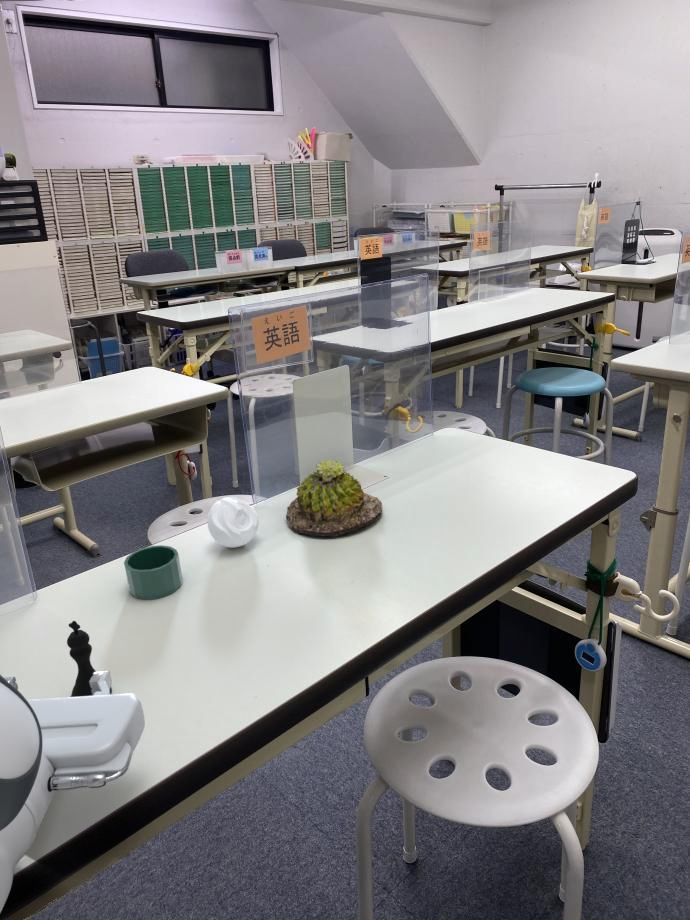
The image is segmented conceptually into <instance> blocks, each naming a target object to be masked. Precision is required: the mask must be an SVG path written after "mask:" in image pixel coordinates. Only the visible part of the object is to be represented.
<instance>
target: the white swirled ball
mask: <svg viewBox="0 0 690 920" xmlns="http://www.w3.org/2000/svg"><path fill="white" fill-rule="evenodd" d="M206 517H207V529H208V532H209V534H210V536H211V537H212V539H213V540H214V541H215V542H217V544H218V545H219V546H222V547H225V548H229V549H230V548H239V547H240V548H241V547H243V546H245V545H247V544H248V543H249V542H251V541H252V540H253V539H254V538H255V537H256V535H257V533H258V528H259V515H258V513H257V511H256V510H255V509H254V508H253V506H251V504H249V503H247V502H246V501H245V500H243V499H242V498H239V497H235V496H228V497H223V498H222V499H219V500H218V501H216V502H215V503H214V504H213V505H212V506H211V508H210V509H209V511H208V514H207V516H206Z"/></svg>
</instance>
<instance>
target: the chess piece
mask: <svg viewBox="0 0 690 920" xmlns="http://www.w3.org/2000/svg"><path fill="white" fill-rule="evenodd" d="M67 626H68V627H69V628H70V629H72V630H73V631H71V632H70V634H69V635H68V637H67V640H66V645H67V647H68V648H69V656H70V658H71V659H72V660H73V661H74V662H75V663H76V665H77V676H76V679H75V683H74V686H73V687H72V690H71V695H70V697H79V696H93V695H92V691H91V690H92V688H91V687H90V683H89V681H90V679H91V677H92V676H93V673H94V672H98V671H97V670H96V669H95V668H94V667H93V665H92V663H91V655H92V651H93V647H92V645H91V643H90V636H89V635H90V634H88V632H86V631H84V630H83V629H81V625H80V624H79V623H77V621H76V620H72V621H71V622H70V623H68V625H67ZM112 687H113V686H111V688H110V695H111V694H113V693H112V692H113V688H112Z"/></svg>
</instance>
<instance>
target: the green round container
mask: <svg viewBox="0 0 690 920" xmlns="http://www.w3.org/2000/svg"><path fill="white" fill-rule="evenodd" d="M123 565H124V570H125V575H126V579H127V580H126V581H127V585H128V586H127V587H128V590H129V593H130V596H132V597H134V598H136V599H139V600H146V601H148V600H151V601H152V600H159V599H161V598H164V597H167V596H170V595H172V594H174V593H175V592H176V591H178V590H179V589H180V588H181V586H182V585H183V574H182V567H181V561H180V555H179V552H178V550H177V549H176V548H174V547H172V546H170V545H162V544H159V545H151V546H146V547H142V548H139V549H137V550H135V551H133V552H132V553H130V554H129V555H127V556H126V558H125V560H124V562H123Z"/></svg>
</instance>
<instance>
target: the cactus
mask: <svg viewBox="0 0 690 920" xmlns="http://www.w3.org/2000/svg"><path fill="white" fill-rule="evenodd" d="M315 467H316V468H315V470H316V471H315V470H314V471H313V472H312V473H310V474H308V476H307V477H305V478H304V479H303V481H301V483H300V485H298V487H296V490H297V491H296V496H297V497H296V498H294V499H293V500H292V501H291V502H290V503H289V505H288V506H287V508H286V515H285V519H286V522H287V524H288V527H291V528H292V530H293V531H294V532H296V533H298V534H299V533H301V534H303V535H306V536H313V537H327V536H329V537H330V536H331V537H338V536H339V535H340V536H341V535H343V534H349V533H350V532H355V531H356V530H359V529H361V528H364V527H366V526H368V524H372V522H375V521H376V520H378V517H379V516H381V515H382V513H383V503H382V500H380V499H379V498H378V497H376V496H373V495H371V494H368V493H367V492H364V490H363V489H362V483H361V482H360V481H358V478H354V477H355V475H354V474H352V475H351V474H350V473H349V472H347V471H346V467H345V465H344V464H343V462H340V461H339V460H336V461H334V460H325V459H324V460H323V461H320V462H318V463H317V464H316V465H315Z"/></svg>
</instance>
